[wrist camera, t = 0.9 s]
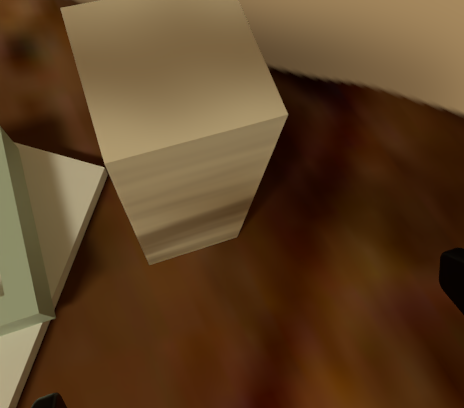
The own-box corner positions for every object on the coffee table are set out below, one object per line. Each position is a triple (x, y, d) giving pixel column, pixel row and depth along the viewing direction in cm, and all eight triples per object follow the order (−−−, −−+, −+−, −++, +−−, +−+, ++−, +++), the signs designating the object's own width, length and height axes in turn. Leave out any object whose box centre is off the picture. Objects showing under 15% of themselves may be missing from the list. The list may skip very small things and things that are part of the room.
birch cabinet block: (237, 236, 24) (288, 114, 12) (149, 265, 23) (104, 163, 11) (204, 146, 26) (219, -44, 13) (121, 169, 25) (54, -14, 12)
